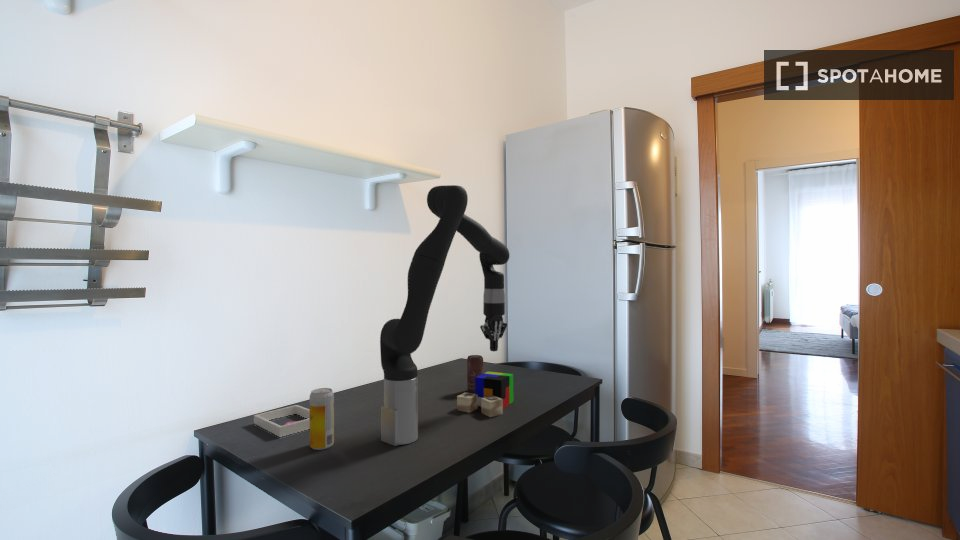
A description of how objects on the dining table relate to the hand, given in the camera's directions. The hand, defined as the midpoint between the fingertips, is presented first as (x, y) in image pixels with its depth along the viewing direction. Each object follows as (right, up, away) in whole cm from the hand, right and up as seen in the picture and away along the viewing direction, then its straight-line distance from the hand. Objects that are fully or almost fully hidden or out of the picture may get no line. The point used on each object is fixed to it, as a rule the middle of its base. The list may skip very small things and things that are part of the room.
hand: (493, 350), depth 155 cm
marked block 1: (-9, -19, -7) cm, 22 cm away
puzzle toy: (0, -19, 0) cm, 19 cm away
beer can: (-47, -19, -38) cm, 63 cm away
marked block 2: (-1, -19, -11) cm, 22 cm away
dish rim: (-62, -19, -22) cm, 69 cm away
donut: (-59, -20, -26) cm, 67 cm away
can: (-7, -19, +15) cm, 25 cm away
